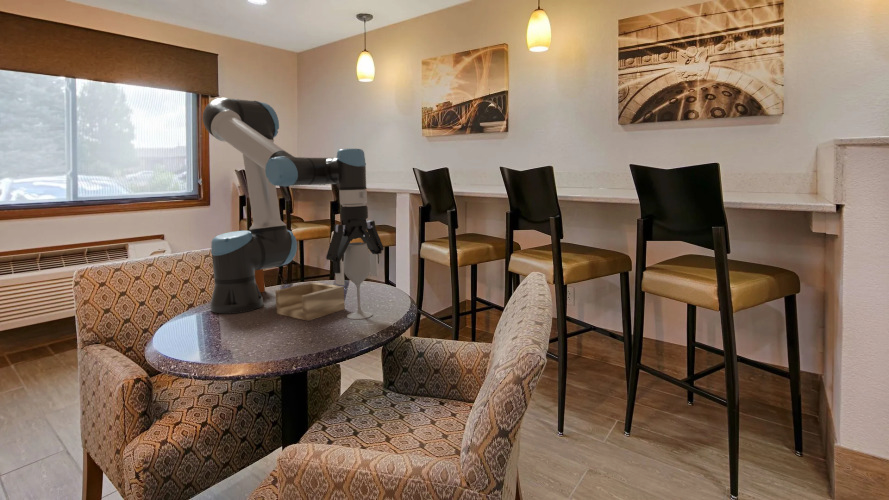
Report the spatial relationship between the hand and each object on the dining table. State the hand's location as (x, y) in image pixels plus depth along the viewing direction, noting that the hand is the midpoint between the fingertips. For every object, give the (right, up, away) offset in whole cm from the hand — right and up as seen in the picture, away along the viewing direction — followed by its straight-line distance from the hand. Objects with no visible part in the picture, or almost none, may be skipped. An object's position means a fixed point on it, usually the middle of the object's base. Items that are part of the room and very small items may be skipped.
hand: (357, 280), depth 142 cm
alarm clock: (-44, -7, +30) cm, 54 cm away
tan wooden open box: (-15, -10, +8) cm, 20 cm away
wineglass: (0, -11, +2) cm, 11 cm away
